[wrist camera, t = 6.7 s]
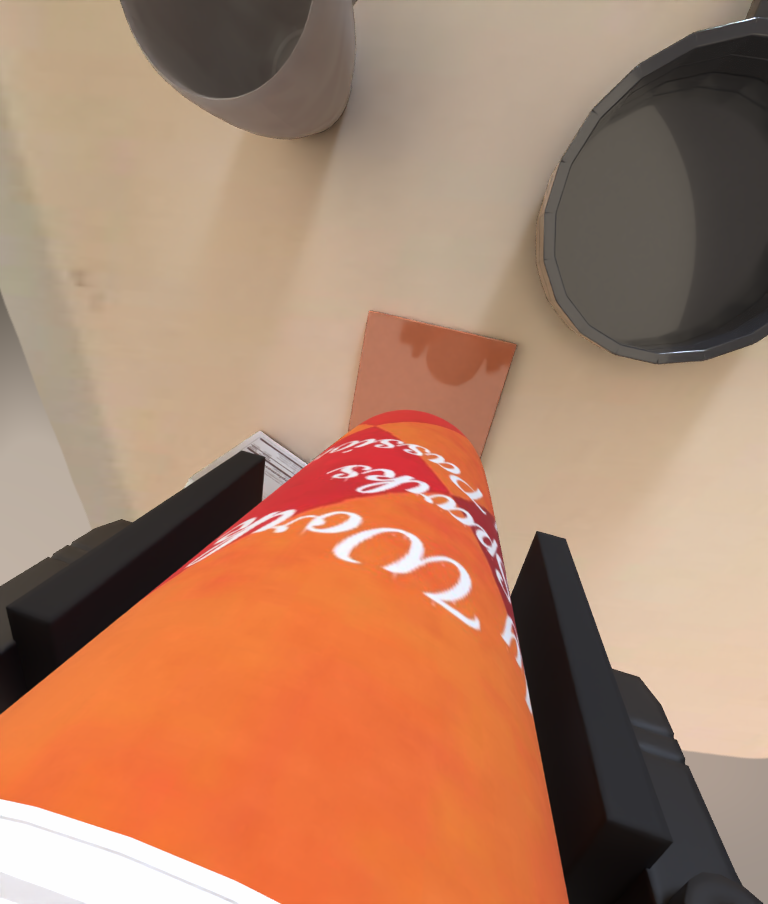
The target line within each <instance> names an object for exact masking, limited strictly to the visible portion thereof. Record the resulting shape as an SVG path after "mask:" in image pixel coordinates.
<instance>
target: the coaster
mask: <svg viewBox="0 0 768 904" xmlns="http://www.w3.org/2000/svg"><path fill="white" fill-rule="evenodd" d="M516 346H517V344H515V343H511V342H507V341H502V340H498V339H493V338H489V337H485V336H480V335H476V334H472V333H467V332H463V331H459V330H454V329H450V328H445V327H441V326H437V325H432V324H428V323H424V322H419V321H415V320H410V319H406V318H402V317H397V316H393V315H389V314H384V313H380V312H376V311H369V313H368V319H367V325H366V331H365V337H364V342H363V348H362V354H361V360H360V365H359V371H358V377H357V383H356V389H355V394H354V400H353V406H352V412H351V418H350V423H349V429H348V432H349V431H351V430H352V429H353V428H355V427H356V426H358V425H359V424H361V423H363V422H364V421H366V420H368V419H369V418H371V417H374V416H376V415H379V414H382V413H385V412H389V411H395V410H416V411H422V412H426V413H429V414H432V415H435V416H438V417H440V418H442V419H444V420H446V421H447V422H449V423H450V424H452V425H453V426H455V427H456V428H457V429H459V430H460V431H461V432H462V433H463V434H464V435H465V436H466V437H467V439H468V440H469V441H470V442H471V444H472V445H473V447H474V448H475V450H476V452H477V454H478V456H479V458H481V455H482V452H483V449H484V446H485V442H486V439H487V436H488V433H489V430H490V427H491V424H492V421H493V418H494V415H495V411H496V408H497V405H498V402H499V399H500V396H501V393H502V390H503V387H504V384H505V380H506V377H507V374H508V371H509V368H510V365H511V362H512V359H513V356H514V353H515V349H516Z"/></svg>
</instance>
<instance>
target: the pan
mask: <svg viewBox="0 0 768 904" xmlns="http://www.w3.org/2000/svg"><path fill="white" fill-rule="evenodd" d="M536 266H537V269H538V273H539V277H540V281H541V284H542V287H543V289H544V292H545V295H546V298H547V300H548V302H549V303H550V305H551V306H552V307H553V309H554V310H555V312H556V313H557V314H558V315H559V317H560V318H561V319H562V320H563V321H564V323H565V324H566V325H567V327H568V328H570V330H572V331H574V332H575V333H577V334H578V335H580V336H582V337H583V338H585V339H586V340H588V341H590V342H591V343H593V344H594V345H596V346H598V347H599V348H602V349H604V350H606V351H608V352H610V353H612V354H615V355H617V356H622V357H626V358H631V359H635V360H640V361H644V362H648V363H653V364H668V363H682V362H696V361H704V360H708V359H711V358H714V357H717V356H720V355H723V354H726V353H729V352H732V351H735V350H738V349H741V348H743V347H746V346H749V345H752V344H754V343H756V342H758V341H759V340H761V339H763V338H764V337H766V336H767V335H768V18H761V17H758V18H751V19H747V20H743V21H738V22H734V23H730V24H726V25H721V26H717V27H713V28H709V29H705V30H700V31H697V32H693V33H692V34H690V35H688V36H686V37H685V38H683V39H681V40H679V41H678V42H676V43H674V44H673V45H671V46H669V47H667V48H666V49H664V50H662V51H660V52H659V53H657V54H655V55H653V56H652V57H650V58H648V59H646V60H645V61H643V62H641V63H640V64H638V66H636V67H635V68H634V69H633V70H632V71H631V72H630V73H629V74H628V75H627V76H626V77H625V78H624V79H622V80H621V81H620V82H619V83H618V84H617V85H616V86H615V87H614V88H613V89H612V90H611V91H610V92H609V93H608V94H607V95H606V96H605V97H604V98H603V99H602V100H601V101H600V102H599V103H598V104H597V105H596V106H595V107H594V108H593V109H592V111H591V112H590V113H589V115H588V116H587V118H586V119H585V121H584V123H583V124H582V126H581V127H580V129H579V131H578V132H577V134H576V135H575V137H574V139H573V140H572V142H571V144H570V145H569V147H568V148H567V150H566V152H565V153H564V155H563V157H562V158H561V160H560V161H559V163H558V165H557V166H556V168H555V170H554V171H553V173H552V174H551V177H550V179H549V182H548V185H547V188H546V192H545V195H544V197H543V200H542V204H541V208H540V211H539V215H538V218H537V223H536Z"/></svg>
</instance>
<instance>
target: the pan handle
mask: <svg viewBox="0 0 768 904" xmlns="http://www.w3.org/2000/svg"><path fill="white" fill-rule="evenodd" d="M758 17H761V18H768V0H753V2H752V5H751V7H750V10H749V12H748V14H747V17H746V19H745V20H747V19H751V18H758Z"/></svg>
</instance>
